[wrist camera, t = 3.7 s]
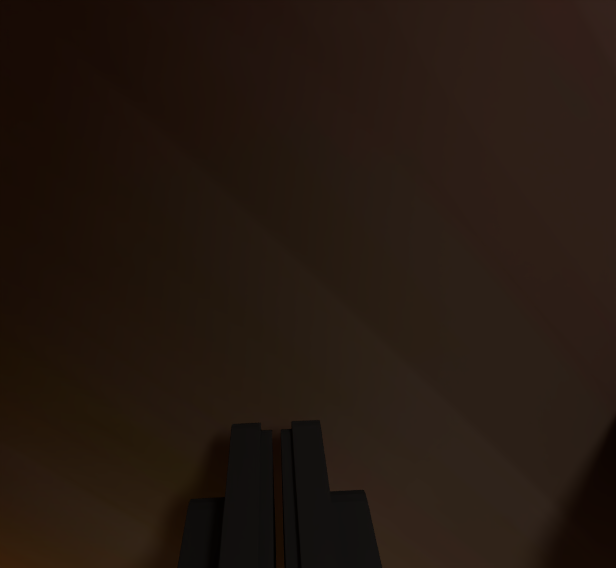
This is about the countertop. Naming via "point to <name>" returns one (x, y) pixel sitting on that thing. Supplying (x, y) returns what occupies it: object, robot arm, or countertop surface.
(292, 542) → the robot arm
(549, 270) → the countertop surface
